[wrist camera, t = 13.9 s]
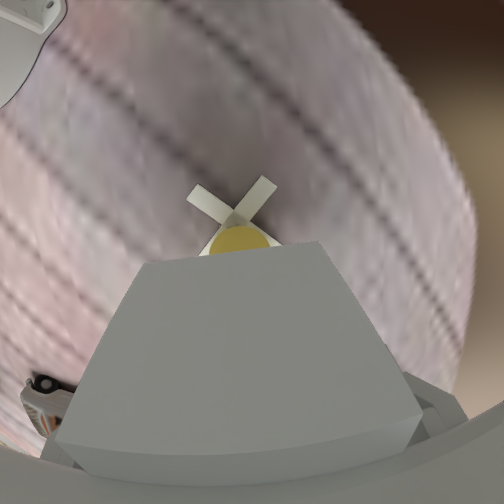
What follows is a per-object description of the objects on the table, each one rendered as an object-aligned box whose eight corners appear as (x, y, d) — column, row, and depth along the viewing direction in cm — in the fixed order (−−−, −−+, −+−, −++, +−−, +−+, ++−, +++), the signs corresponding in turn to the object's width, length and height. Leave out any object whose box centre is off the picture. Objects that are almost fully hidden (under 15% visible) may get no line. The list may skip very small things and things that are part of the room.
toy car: (30, 367, 33) (3, 416, 23) (191, 409, 36) (185, 472, 27) (47, 408, 37) (29, 452, 28) (187, 444, 40) (183, 497, 31)
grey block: (143, 263, 12) (54, 440, 4) (318, 240, 12) (423, 413, 4) (184, 383, 15) (166, 530, 7) (318, 367, 15) (361, 514, 7)
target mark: (162, 232, 25) (162, 233, 25) (225, 147, 23) (225, 147, 23) (245, 287, 28) (245, 288, 28) (310, 213, 25) (310, 213, 25)
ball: (205, 283, 21) (216, 298, 25) (277, 275, 21) (275, 291, 25) (201, 219, 23) (212, 244, 27) (267, 211, 23) (267, 237, 27)
